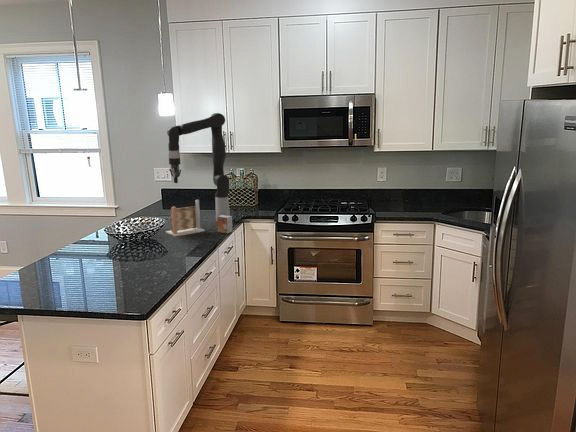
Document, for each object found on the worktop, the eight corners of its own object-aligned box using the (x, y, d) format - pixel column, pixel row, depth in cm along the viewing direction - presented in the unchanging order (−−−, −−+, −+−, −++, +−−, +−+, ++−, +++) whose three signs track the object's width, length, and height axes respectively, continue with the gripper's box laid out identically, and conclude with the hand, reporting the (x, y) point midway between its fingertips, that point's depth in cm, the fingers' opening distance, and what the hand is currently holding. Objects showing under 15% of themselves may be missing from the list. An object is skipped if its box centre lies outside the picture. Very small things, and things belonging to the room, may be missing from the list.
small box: (217, 232, 292) (216, 216, 290) (222, 230, 297) (221, 214, 295) (227, 233, 289) (227, 217, 286) (232, 231, 293) (232, 215, 291)
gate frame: (194, 227, 304) (193, 198, 300) (204, 231, 295) (203, 200, 291) (165, 232, 291) (164, 202, 287) (175, 236, 281) (173, 204, 277)
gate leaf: (195, 227, 297) (194, 205, 294) (196, 228, 296) (195, 206, 293) (171, 231, 286) (170, 209, 283) (172, 232, 285) (171, 209, 282)
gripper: (184, 157, 302) (185, 183, 306) (174, 156, 312) (176, 181, 316) (174, 158, 297) (175, 184, 301) (164, 157, 307) (166, 182, 311)
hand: (175, 182), depth 308 cm, fingers closed
